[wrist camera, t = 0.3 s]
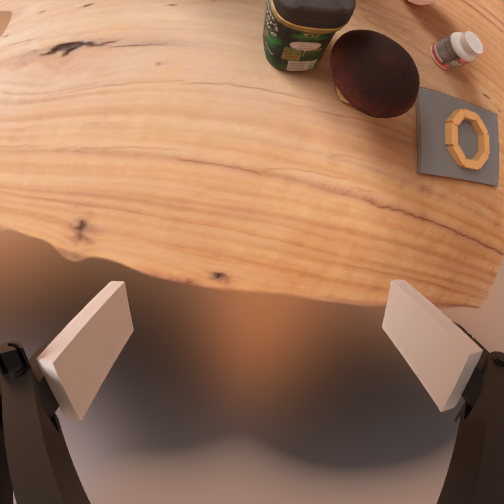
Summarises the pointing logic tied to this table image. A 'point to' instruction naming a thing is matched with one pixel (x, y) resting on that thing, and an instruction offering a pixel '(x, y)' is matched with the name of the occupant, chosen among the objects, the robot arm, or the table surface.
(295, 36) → the coffee jar
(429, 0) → the sauce bottle
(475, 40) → the pill bottle
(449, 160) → the socket board
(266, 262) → the table surface
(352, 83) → the decorative mushroom
